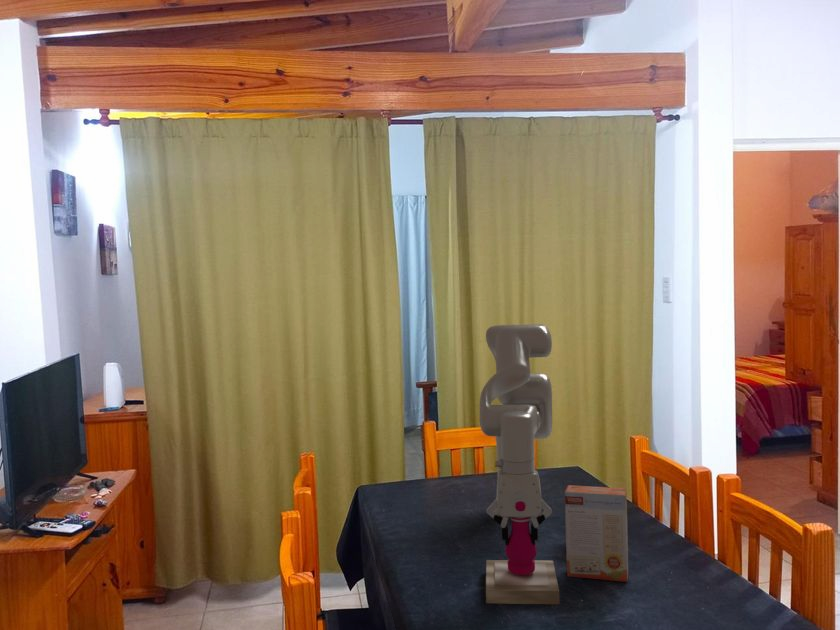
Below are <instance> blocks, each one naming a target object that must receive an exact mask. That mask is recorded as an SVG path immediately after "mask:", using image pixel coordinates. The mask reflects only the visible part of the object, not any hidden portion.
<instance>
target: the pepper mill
mask: <svg viewBox="0 0 840 630" xmlns="http://www.w3.org/2000/svg"><path fill="white" fill-rule="evenodd" d="M515 505H516V506H515V508H516V510H517V511H524V510H525V508H526V507H525V506H526V505H525V503H524V502H522V501H520V502H519V501H518V502H516V503H515ZM508 519H509V520H511V530H510V534H509V535H508V545H505V551H504V552H505V556H506V557H507V558H508V559H507V560H508V570H509V571H510V572H511V573H514V574H518V575H527V574H531V573H532V572H534V570H535V561H534V560H535V558H536V556H537V554H538V551H537V546H536V544H535V545H533V543H532V537H531V529H530V521H531V518H530V517H509V518H508Z"/></svg>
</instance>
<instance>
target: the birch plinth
mask: <svg viewBox="0 0 840 630" xmlns="http://www.w3.org/2000/svg"><path fill="white" fill-rule="evenodd" d="M508 560H509V559H506V560H505V559H498V560H497V559H494V560H493V559H486V562H485V563H486V564H485V566H486V569H485V570H486V571H485V572H486V574H485V598H486V599H485V602H486V604H504V605H506V604H509V605H511V604H513V605H516V604H517V605H519V604H520V605H560V589H559V584H558V578H557V574H556V569H555V564H554V560H540V559H539V560H537V559H536V560H535V559H533V560H534V561H535V570H534V572H532V573H531V574H527V575H518V574H514V573H511V572H510V571H509V570H508Z"/></svg>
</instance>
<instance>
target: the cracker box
mask: <svg viewBox="0 0 840 630" xmlns="http://www.w3.org/2000/svg"><path fill="white" fill-rule="evenodd" d="M627 497H628V496H627V488H623V487H609V486H608V487H605V486H589V485H587V486H586V485H573V484H572V485H571V484H570V485H569V484H568V485H567V487H566V489H565V492H564V504H565V505H564V508H565V509H564V510H565V513H564V514H565V516H564V518H565V549H566V555H565V556H566V576H567V577H571V578H572V577H574V578H581V579H593V580H600V581H601V580H602V581H603V580H605V581H611V582H612V581H613V582H620V583H621V582H623V583H626V582H628V578H629V544H628V543H629V542H628V541H629V540H628V539H629V538H628V537H629V535H628V505H627V504H628V503H627V501H628V500H627Z"/></svg>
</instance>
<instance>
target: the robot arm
mask: <svg viewBox="0 0 840 630" xmlns="http://www.w3.org/2000/svg"><path fill="white" fill-rule="evenodd" d="M485 341H486V344H487V346H488V348H489V350H490V352H491V353H492V355H493V357H494V361H495V369H496V370H495V371H496V372H495V374H493V376H491V377H490V379H489V380H487V382H486V383H485V385H484V387H483V388H482V390H481V393H480V396H479V427H480V431H481V432H482V433H483V435H485V436H487V437H495V444H496V460H495V461H494V465H495V468H497V480H496V482H497V483H496V498H495V499H494V500H493V501H492V503H491V504H490V505H489V506H488V507H487V509H486V514H487V515H488V516H489V517H491V518H492V519H493V520H494V521H495V522H496V523H497V524H498V525H499V526H500V528H501V538H502V539H501V540H502V541H504V543H505V546H506V545H508V539H509V525H508V520H509V519H510V518H509V517H530V518H531V519H530V521H531V524H530V533H531V537H532V543H533V545H536V541H538V539H539V534H538V532H539V531H538V530H539V529H538V528H539V527H540V525H541V524H542V523H543V522H544V521H546V519H547V518H548V517H550V516H551V515H552V514H553V511H552V508H551V507H550V506H549V504H547V503H546V502H545V500H544V499H543V498H542V489H541V481H540V475H539V472H538V470H536V469H535V467H536V466H535V440H542V439H543V440H544V439H548V438H549V437H550V436H551V434H552V431H553V391H552V383H551V380H550V377H549V376H548V375H546V374H545V373H540V372H538V373H537V372H536V373H535V372H533V373H531V366H530V364H531V363H530V358H547V357H549V356H550V354H551V352H552V349H553V348H552V345H553V344H552V335H551V332H550V330H549V328H548V326H546V325H545V324H542V323H541V324H540V323H539V324H536V323H535V324H534V323H533V324H532V323H531V324H499V325H493V326H490V327H488V329H487V330H486V332H485ZM495 399H498V401H499V403H500V404H492V403H493V401H494V400H495ZM518 501H519V502H520V501H522V502H524V503H525V505H526V506H525V507H526V508H525V510H524V511H517V510H516V508H515V506H516V505H515V503H516V502H518ZM542 510H543V511H542Z"/></svg>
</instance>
